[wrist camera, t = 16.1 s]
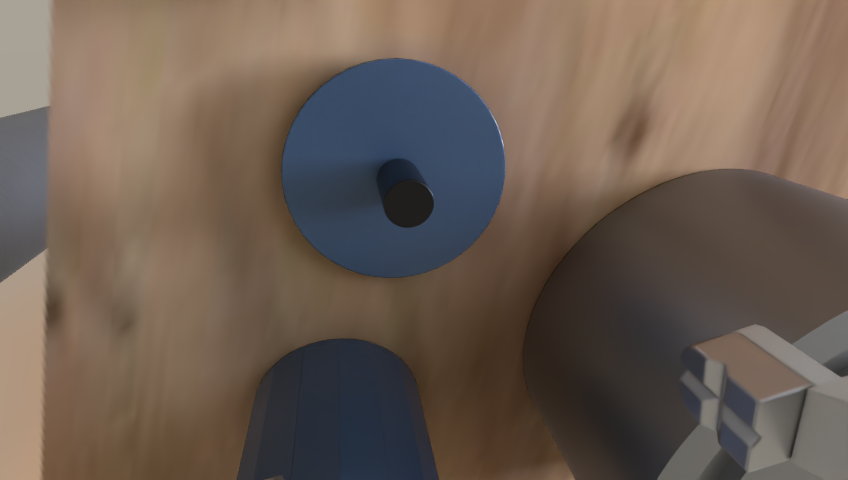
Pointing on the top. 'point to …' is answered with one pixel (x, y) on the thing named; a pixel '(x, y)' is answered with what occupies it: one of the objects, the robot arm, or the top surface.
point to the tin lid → (393, 168)
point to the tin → (338, 418)
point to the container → (681, 317)
